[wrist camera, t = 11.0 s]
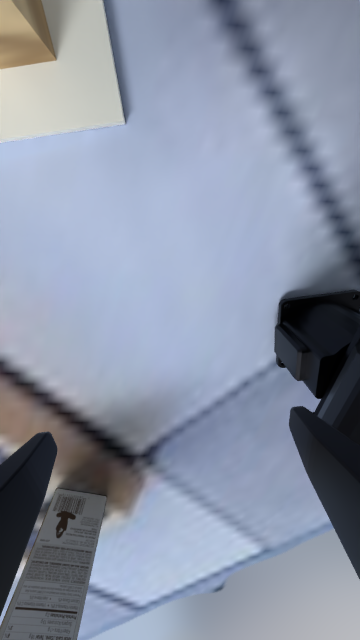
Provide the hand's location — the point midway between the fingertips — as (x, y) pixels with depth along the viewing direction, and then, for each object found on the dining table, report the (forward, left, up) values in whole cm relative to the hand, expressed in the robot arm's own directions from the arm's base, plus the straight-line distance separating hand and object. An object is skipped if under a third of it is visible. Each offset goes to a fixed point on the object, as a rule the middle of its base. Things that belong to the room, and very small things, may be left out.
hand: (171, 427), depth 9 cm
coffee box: (+16, +26, -12) cm, 33 cm away
